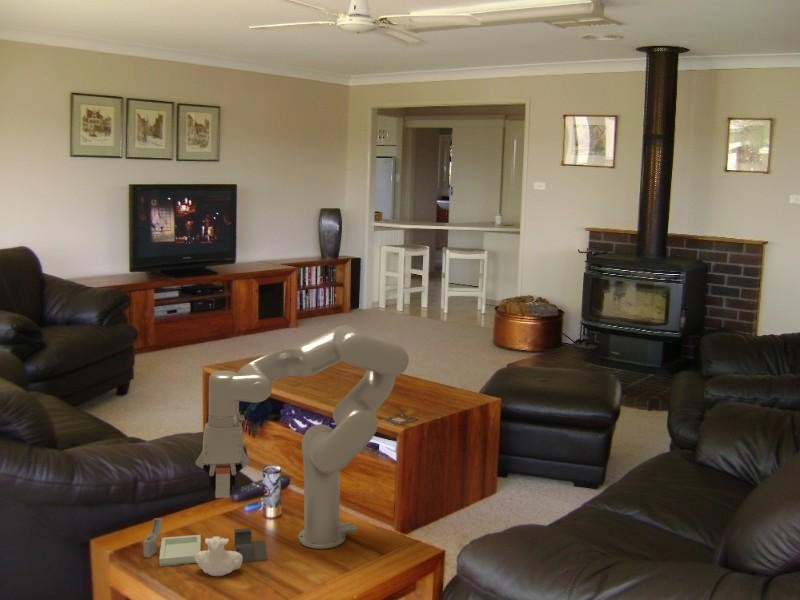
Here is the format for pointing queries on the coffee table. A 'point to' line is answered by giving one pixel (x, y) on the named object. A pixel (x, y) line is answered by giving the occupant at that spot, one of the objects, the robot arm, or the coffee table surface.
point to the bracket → (249, 546)
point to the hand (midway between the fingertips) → (222, 487)
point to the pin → (222, 481)
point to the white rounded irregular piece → (218, 558)
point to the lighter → (152, 539)
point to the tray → (179, 550)
